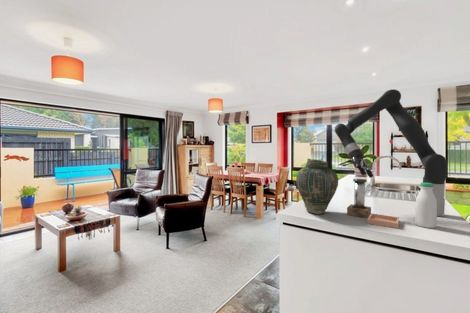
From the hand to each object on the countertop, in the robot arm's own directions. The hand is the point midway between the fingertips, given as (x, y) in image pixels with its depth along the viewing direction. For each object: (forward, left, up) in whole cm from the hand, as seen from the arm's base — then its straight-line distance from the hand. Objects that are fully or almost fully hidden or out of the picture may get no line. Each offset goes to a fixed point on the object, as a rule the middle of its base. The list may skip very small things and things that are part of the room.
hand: (368, 175), depth 129 cm
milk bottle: (-25, +7, -21) cm, 33 cm away
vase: (+23, +15, -21) cm, 35 cm away
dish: (-9, +14, -21) cm, 27 cm away
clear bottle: (+3, +5, -21) cm, 22 cm away
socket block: (+3, +5, -21) cm, 22 cm away
